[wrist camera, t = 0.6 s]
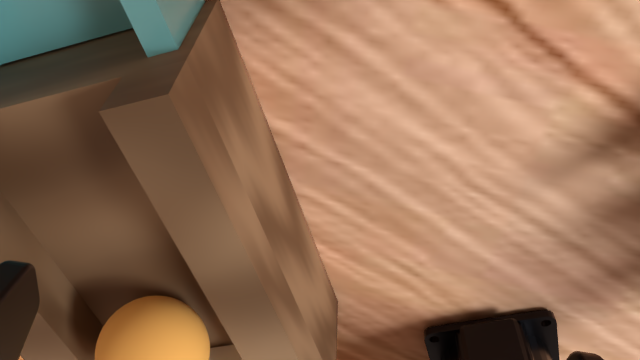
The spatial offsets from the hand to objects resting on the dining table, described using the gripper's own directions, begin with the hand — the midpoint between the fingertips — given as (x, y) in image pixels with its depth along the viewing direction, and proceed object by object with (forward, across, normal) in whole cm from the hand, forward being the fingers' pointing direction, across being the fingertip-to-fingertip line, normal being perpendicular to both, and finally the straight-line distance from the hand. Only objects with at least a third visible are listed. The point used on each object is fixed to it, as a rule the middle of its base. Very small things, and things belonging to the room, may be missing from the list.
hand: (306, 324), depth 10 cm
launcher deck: (+14, +5, +9) cm, 17 cm away
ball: (+7, +4, +11) cm, 13 cm away
